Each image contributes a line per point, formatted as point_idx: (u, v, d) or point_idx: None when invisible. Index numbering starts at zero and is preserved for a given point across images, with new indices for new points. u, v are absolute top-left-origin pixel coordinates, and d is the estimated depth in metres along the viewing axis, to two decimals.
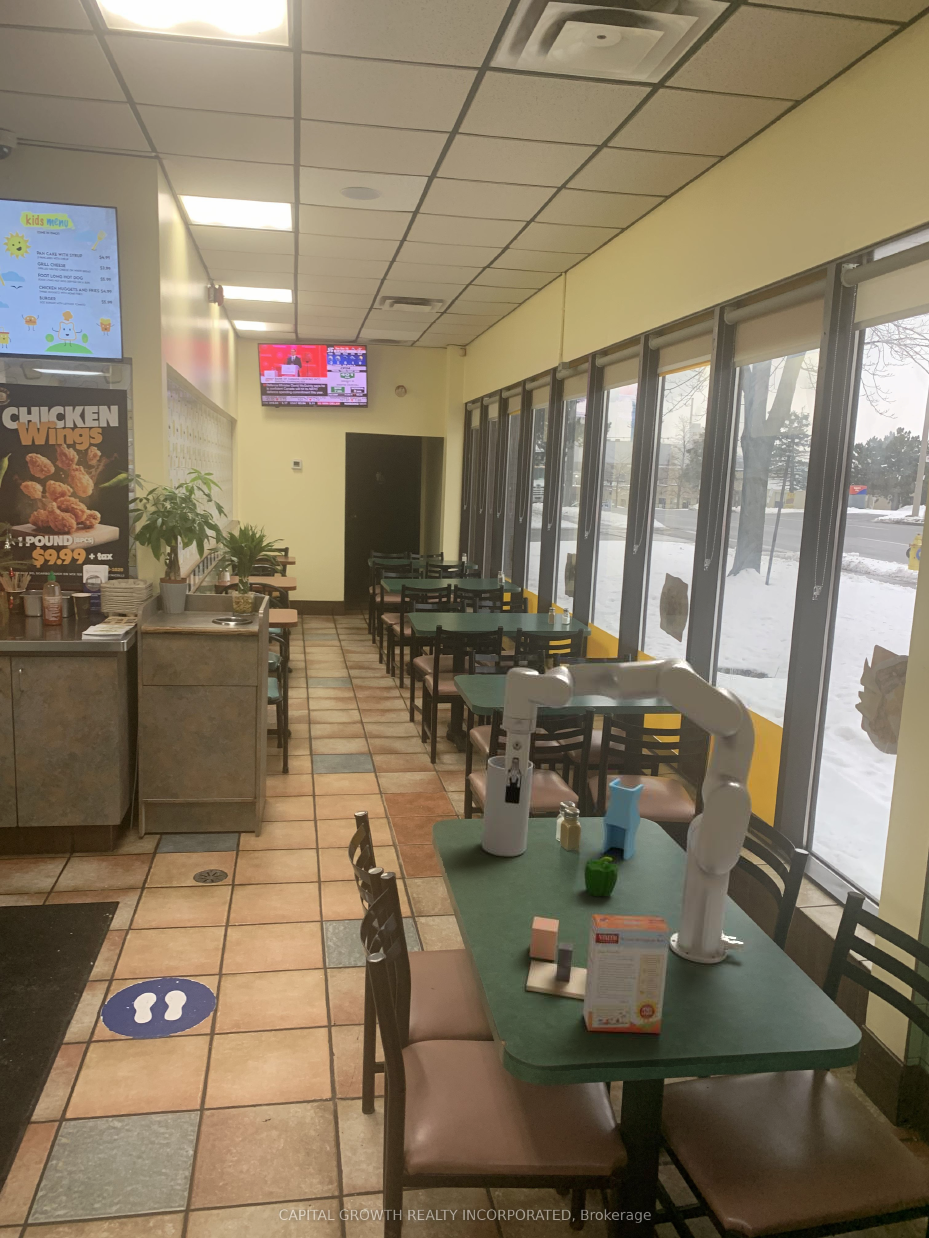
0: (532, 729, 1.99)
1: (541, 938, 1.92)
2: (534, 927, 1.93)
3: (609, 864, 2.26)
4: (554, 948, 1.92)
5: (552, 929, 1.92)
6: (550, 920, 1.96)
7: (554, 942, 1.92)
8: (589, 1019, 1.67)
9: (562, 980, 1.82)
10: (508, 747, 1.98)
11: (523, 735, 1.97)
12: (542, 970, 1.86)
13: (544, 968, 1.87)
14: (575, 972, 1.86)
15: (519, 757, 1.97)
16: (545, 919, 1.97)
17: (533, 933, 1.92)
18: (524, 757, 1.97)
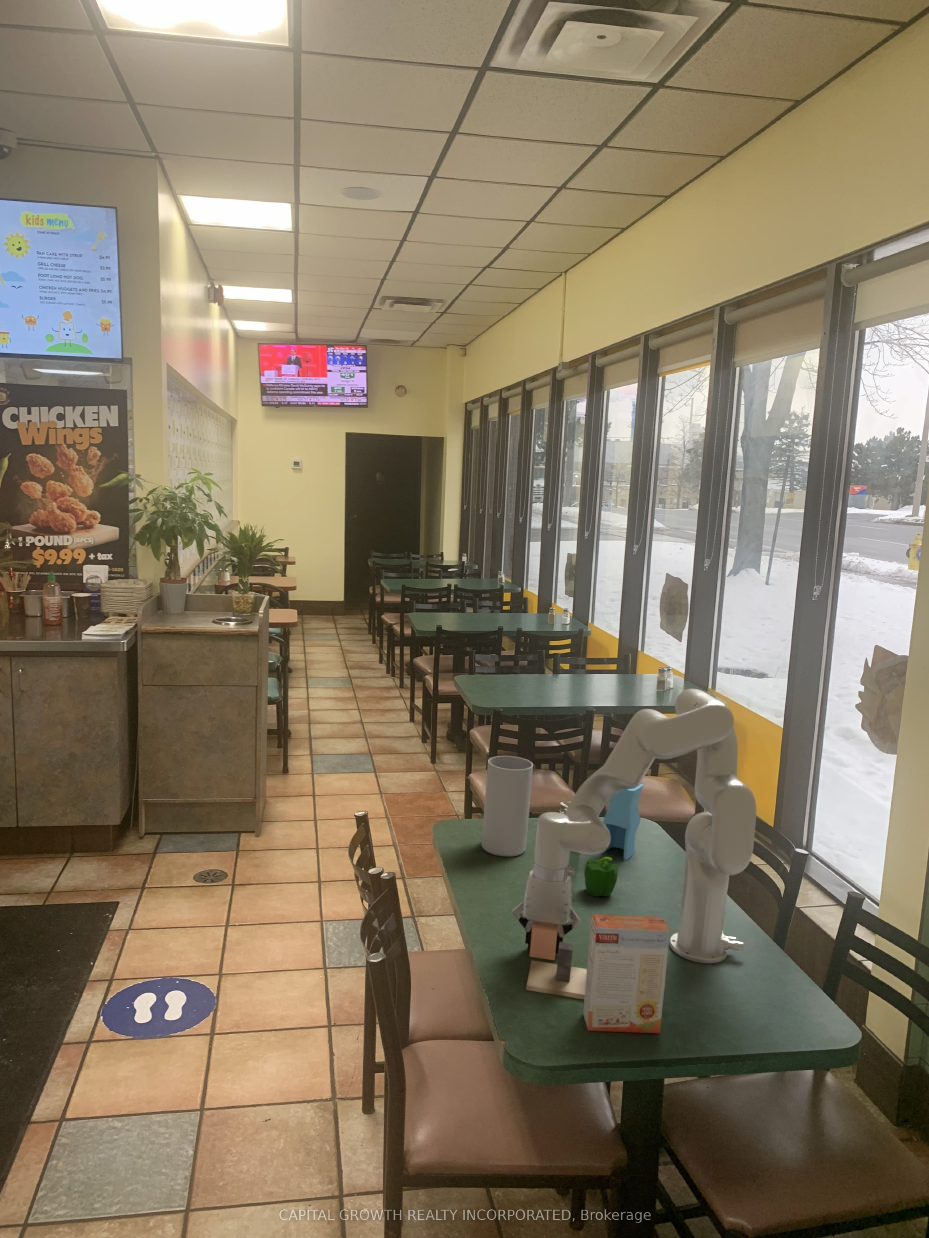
0: None
1: (541, 938, 1.92)
2: (534, 927, 1.93)
3: (609, 864, 2.26)
4: (554, 948, 1.92)
5: (552, 929, 1.92)
6: None
7: (554, 942, 1.92)
8: (589, 1019, 1.67)
9: (562, 980, 1.82)
10: (568, 897, 1.91)
11: (570, 877, 1.93)
12: (542, 970, 1.86)
13: (544, 968, 1.87)
14: (575, 972, 1.86)
15: None
16: None
17: (533, 933, 1.92)
18: None
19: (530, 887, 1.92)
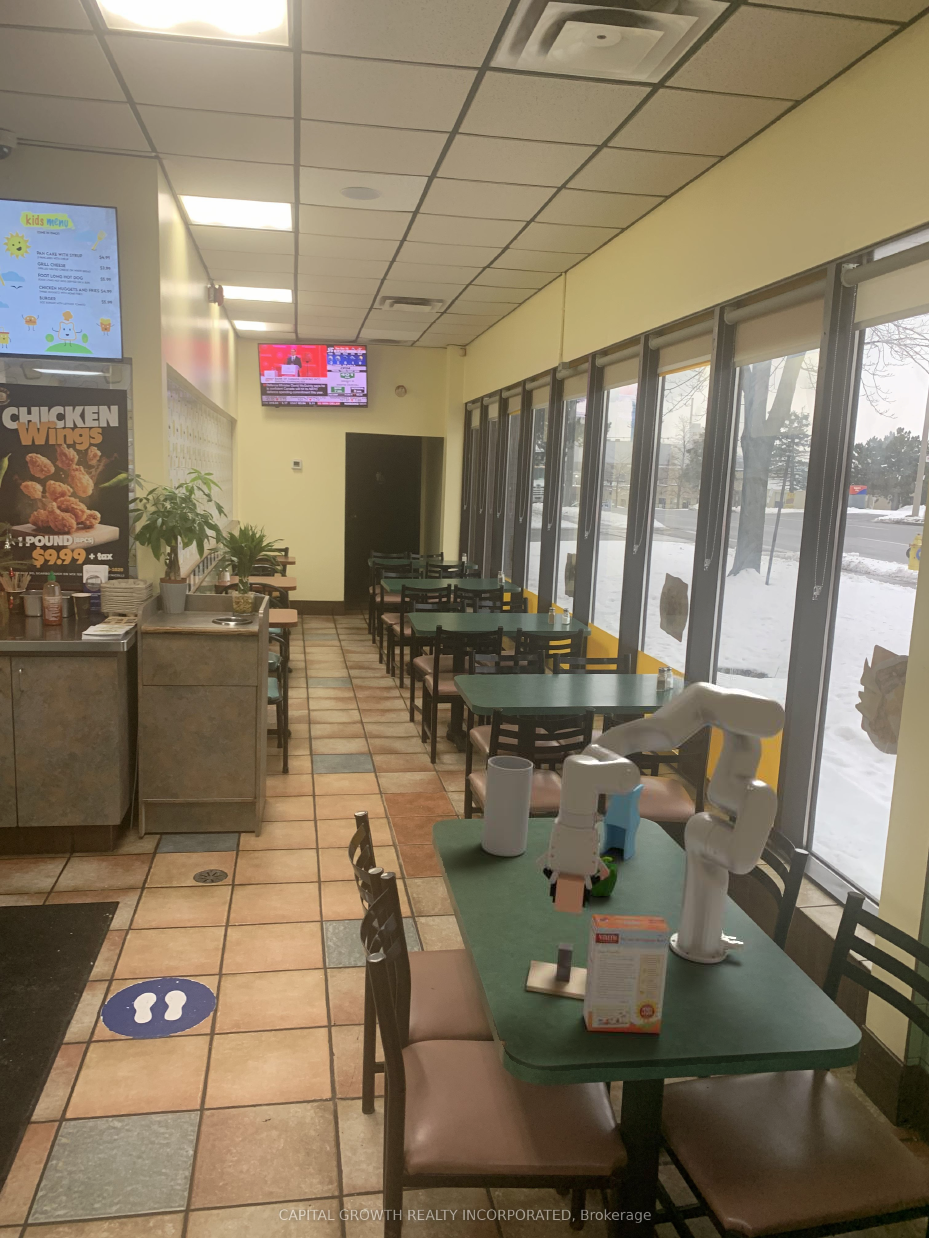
0: None
1: (567, 890, 1.79)
2: (559, 878, 1.79)
3: (609, 864, 2.26)
4: (581, 901, 1.78)
5: (579, 880, 1.79)
6: None
7: (581, 894, 1.78)
8: (589, 1019, 1.67)
9: (562, 980, 1.82)
10: (596, 845, 1.77)
11: (598, 825, 1.80)
12: (542, 970, 1.86)
13: (544, 968, 1.87)
14: (575, 972, 1.86)
15: (599, 850, 1.80)
16: None
17: (558, 885, 1.79)
18: None
19: (555, 835, 1.78)
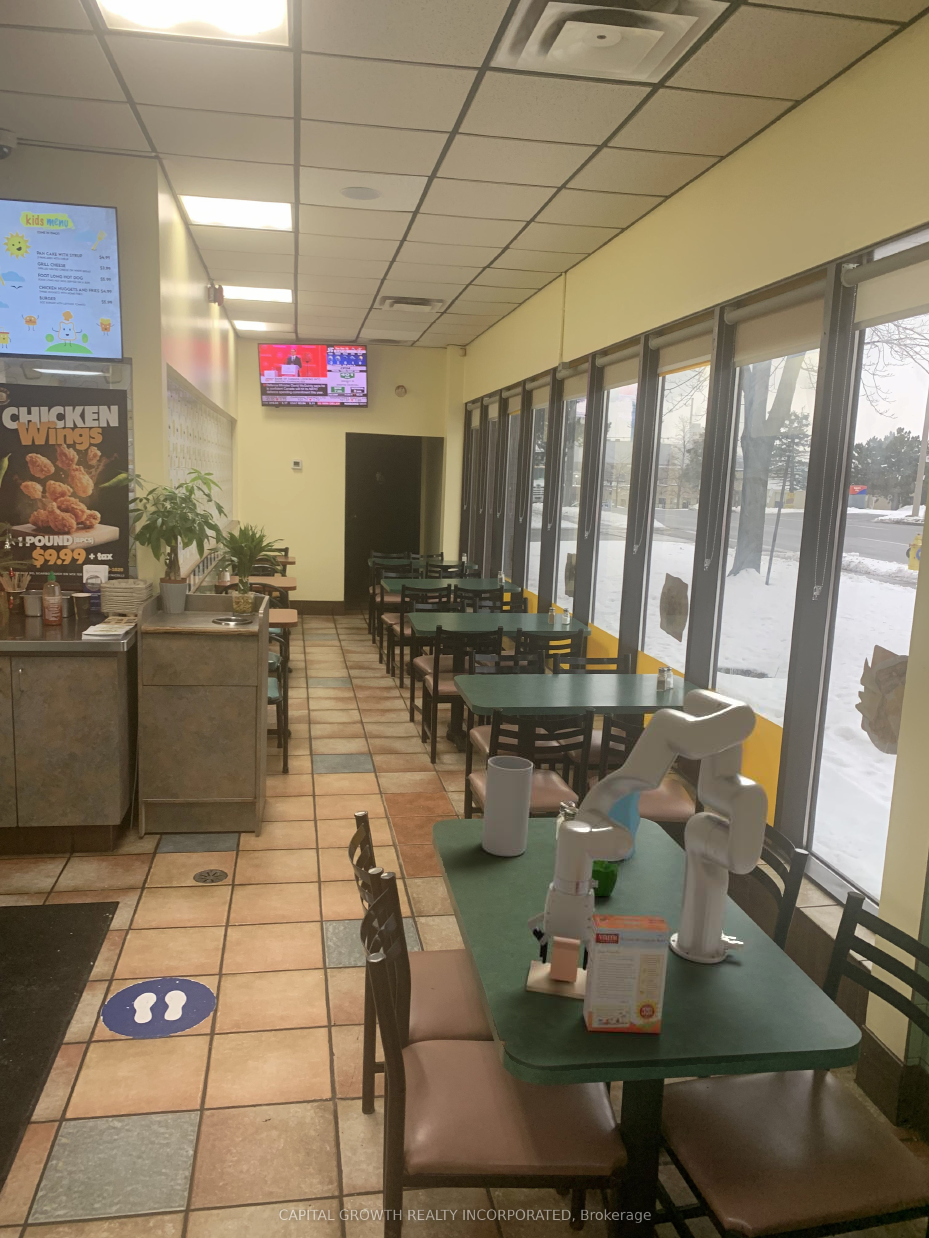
0: None
1: (562, 959, 1.80)
2: (554, 947, 1.81)
3: (609, 864, 2.26)
4: (576, 969, 1.80)
5: (574, 949, 1.80)
6: (571, 939, 1.84)
7: (576, 963, 1.80)
8: (589, 1019, 1.67)
9: (562, 980, 1.82)
10: (591, 911, 1.79)
11: None
12: (542, 970, 1.86)
13: (544, 968, 1.87)
14: None
15: None
16: (565, 938, 1.85)
17: (553, 953, 1.81)
18: None
19: (550, 901, 1.80)
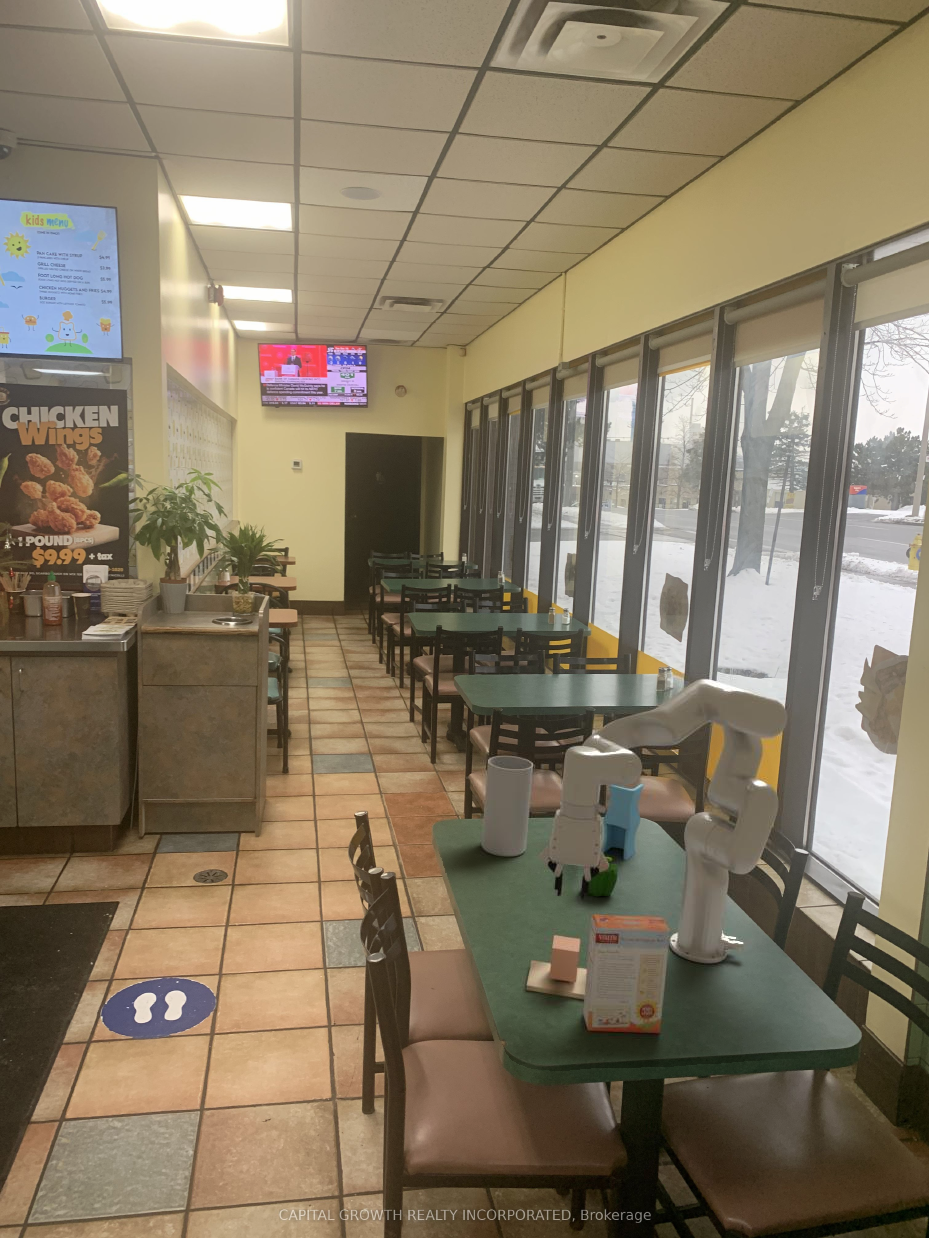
0: None
1: (562, 959, 1.80)
2: (554, 947, 1.81)
3: (609, 864, 2.26)
4: (576, 969, 1.80)
5: (574, 949, 1.80)
6: (571, 939, 1.84)
7: (576, 963, 1.80)
8: (589, 1019, 1.67)
9: (562, 980, 1.82)
10: (598, 837, 1.77)
11: (600, 817, 1.79)
12: (542, 970, 1.86)
13: (544, 968, 1.87)
14: None
15: None
16: (565, 938, 1.85)
17: (553, 953, 1.81)
18: None
19: (557, 826, 1.78)
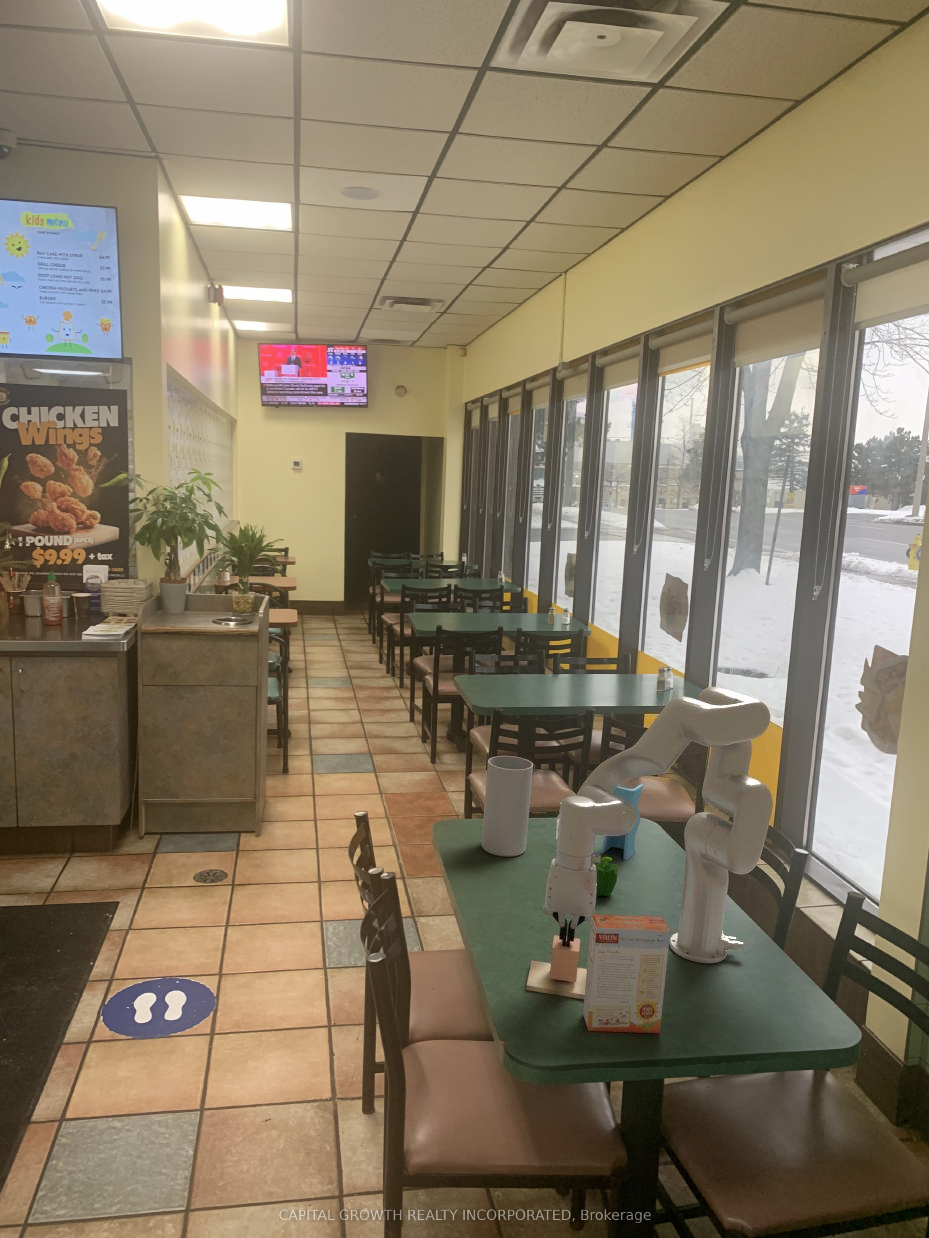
0: None
1: (562, 959, 1.80)
2: (554, 947, 1.81)
3: (609, 864, 2.26)
4: (576, 969, 1.80)
5: (574, 949, 1.80)
6: None
7: (576, 963, 1.80)
8: (589, 1019, 1.67)
9: (562, 980, 1.82)
10: (593, 887, 1.78)
11: (595, 866, 1.81)
12: (542, 970, 1.86)
13: (544, 968, 1.87)
14: None
15: (596, 890, 1.81)
16: None
17: (553, 953, 1.81)
18: None
19: (552, 876, 1.79)
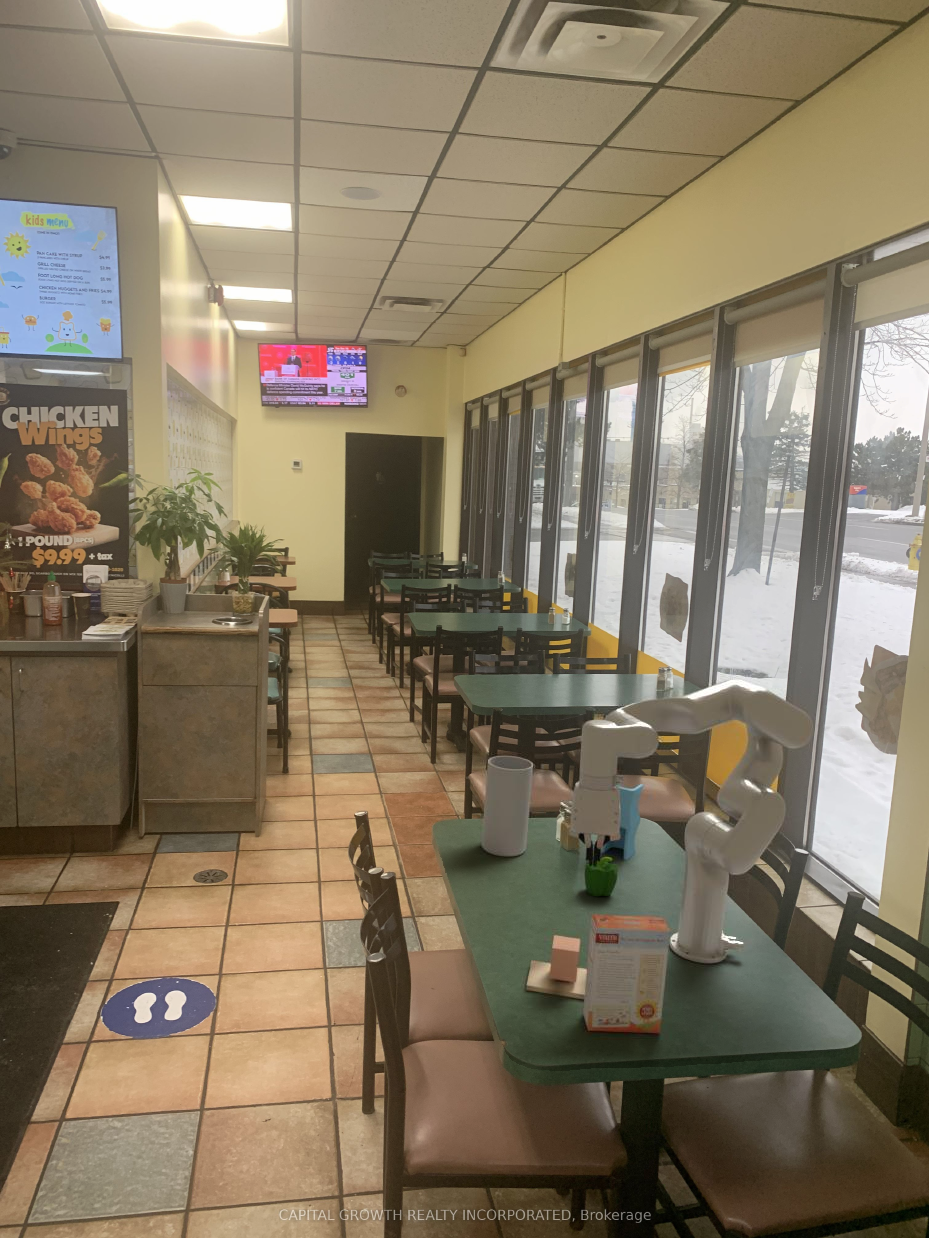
0: None
1: (562, 959, 1.80)
2: (554, 947, 1.81)
3: (609, 864, 2.26)
4: (576, 969, 1.80)
5: (574, 949, 1.80)
6: (571, 939, 1.84)
7: (576, 963, 1.80)
8: (589, 1019, 1.67)
9: (562, 980, 1.82)
10: (618, 806, 1.83)
11: None
12: (542, 970, 1.86)
13: (544, 968, 1.87)
14: None
15: None
16: (565, 938, 1.85)
17: (553, 953, 1.81)
18: None
19: (577, 798, 1.84)
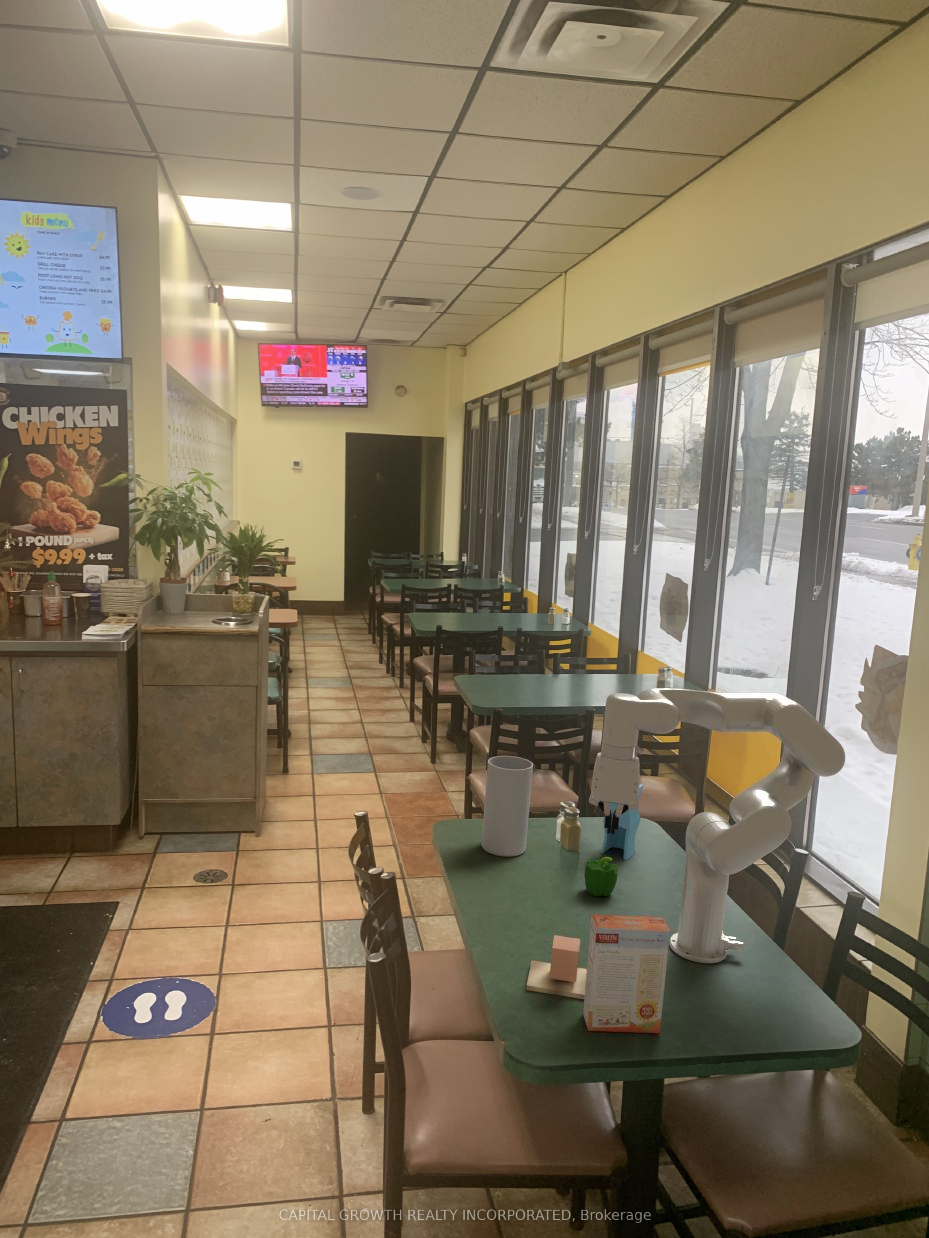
0: None
1: (562, 959, 1.80)
2: (554, 947, 1.81)
3: (609, 864, 2.26)
4: (576, 969, 1.80)
5: (574, 949, 1.80)
6: (571, 939, 1.84)
7: (576, 963, 1.80)
8: (589, 1019, 1.67)
9: (562, 980, 1.82)
10: (637, 776, 1.91)
11: (638, 759, 1.94)
12: (542, 970, 1.86)
13: (544, 968, 1.87)
14: None
15: (639, 781, 1.94)
16: (565, 938, 1.85)
17: (553, 953, 1.81)
18: None
19: (599, 767, 1.92)
